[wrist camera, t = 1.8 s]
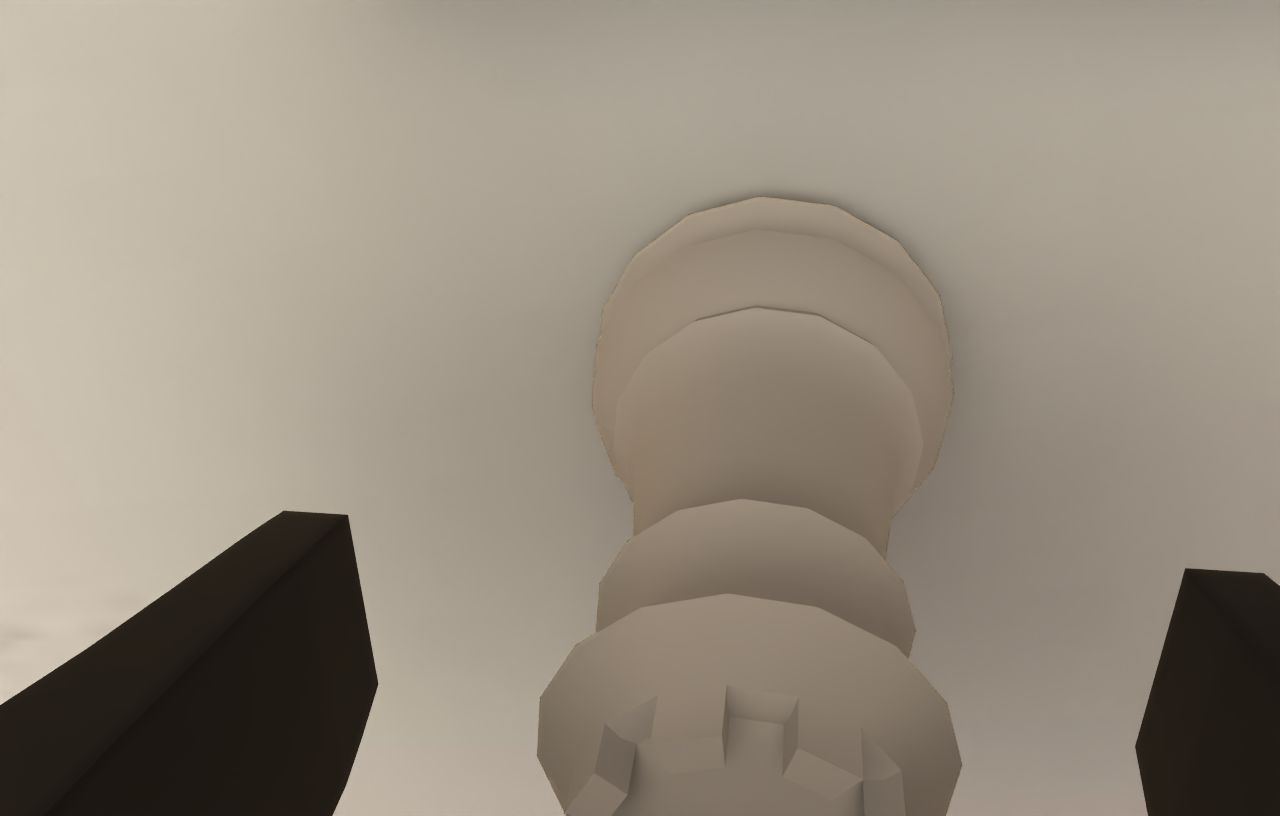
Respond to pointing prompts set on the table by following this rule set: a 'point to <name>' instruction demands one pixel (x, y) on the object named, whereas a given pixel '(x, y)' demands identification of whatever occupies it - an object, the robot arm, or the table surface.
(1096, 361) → the table surface
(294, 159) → the table surface
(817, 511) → the rook chess piece
